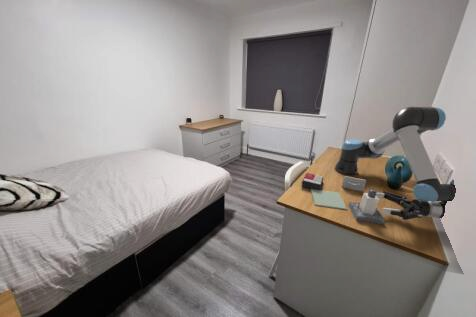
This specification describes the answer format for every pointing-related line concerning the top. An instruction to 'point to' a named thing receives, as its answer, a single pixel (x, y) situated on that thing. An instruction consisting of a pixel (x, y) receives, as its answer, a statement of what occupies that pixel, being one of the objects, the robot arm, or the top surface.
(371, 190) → the plug
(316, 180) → the calculator
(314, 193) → the mat
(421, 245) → the top surface
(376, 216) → the socket
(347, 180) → the cassette
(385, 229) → the top surface
